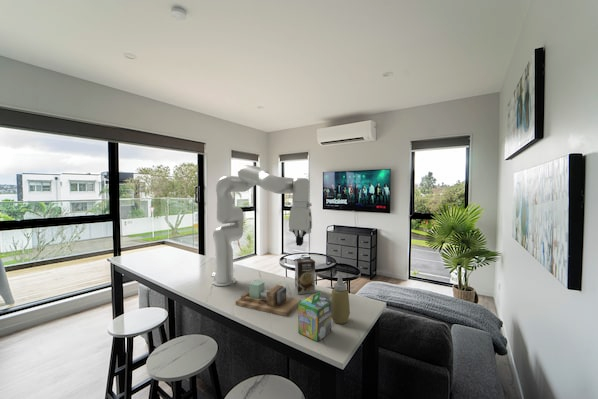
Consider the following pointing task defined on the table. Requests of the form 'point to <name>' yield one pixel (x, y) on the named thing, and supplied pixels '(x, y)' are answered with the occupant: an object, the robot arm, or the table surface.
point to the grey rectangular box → (279, 296)
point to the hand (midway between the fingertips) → (299, 245)
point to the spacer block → (256, 289)
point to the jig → (269, 303)
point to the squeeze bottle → (340, 302)
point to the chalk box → (314, 317)
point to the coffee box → (304, 276)
